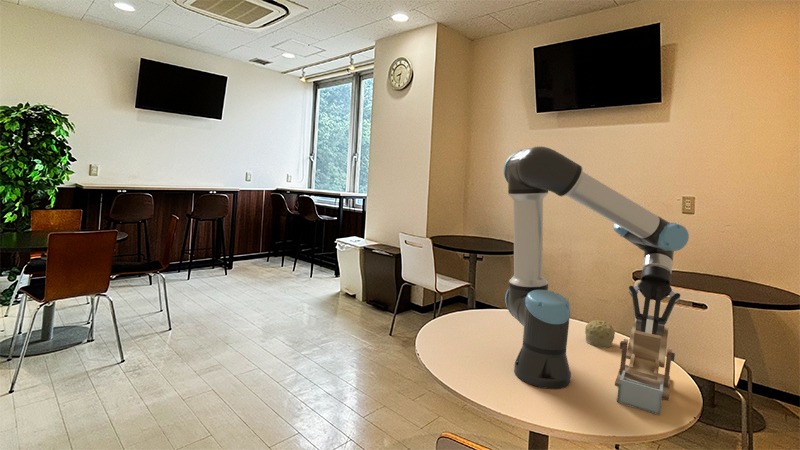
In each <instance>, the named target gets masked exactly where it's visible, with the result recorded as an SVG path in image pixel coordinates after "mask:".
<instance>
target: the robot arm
mask: <svg viewBox="0 0 800 450" xmlns="http://www.w3.org/2000/svg"><path fill="white" fill-rule="evenodd" d="M503 176H504V178H505V181H506V183H507V188H508V189H507V190H508V191H507V193H508V194H507V195H508V196H509V197H510V198H512V200H513V276H512V277H511V278H510V279H509V280H508V284H509V285H508V288H507V290H506V292H505V296H504V297H505V298H504V302H505V306H506V308H507V310H508V312H509V314H510V315H511V316H512V317H513V318H514V319H516V321H518V323H520V324H521V325H522V326H523V334H522V335H523V336H522V346H521V348H520V350H519V353H518V355H517V357H516V359H515V362H514V367H513V372H514V374H515V376H516V377H517V378H518V379H519V380H521V381H523V382H524V383H527V384H529V385H532V386H535V387H538V388H543V389H551V390H552V389H564V388H566V387H569V385H570V384H571V381H572V380H571V378H572V372H571V370H570V364H569V360H568V356H567V347H568V337H569V336H568V335H569V327H570V318H571V304H570V301H569V299H568V298H566V297H565V296H564V295H562V294H560V293H558V292H554V291H552V290H549V281H548V279H546V278H545V277H544V269H543V268H544V267H543V266H544V259H543V257H544V252H543V250H544V247H543V246H544V243H543V242H544V223H543V222H544V214H543V213H544V204H543V203H544V199H545V197H546V196H547V195H548V194H549V192H551V193H554V194H556V195H557V196H559V197H565V196H567V197H568V198H570V199H572V200H574V201H576V202H577V203H579V204H580V205H582V206H584V207H586V208H587V209H589V210H591V211H593V212H594V213H596V214H597V215H599V216H602V217H603V218H604V219H606V220H608V221H610V222H612V223H613V225H612V227H613V231H614V232H615V233H616V234H617V235H619V236H620V237H622V238H624V239H625V240H626V241H628V242H629V243H631V244H632V245H634V246H635V247H637V248H638V249H640V250H642V251H643V252H644V254H643V261H642V262H643V263H642V268H641V269H642V270H641V275H640V281H639V282H638V283H637V285H635V286H633V285H630V286H628V293H629V294H630V296H631V299H632V305H633V310H634V311H633V312H634V317H635V320H637V319H639V320H641V321H642V323H641V332H645V333H650V334H655V335H656V334H657V329H658V325H659V324H665V325H666V324H667V321H668V320H669V318H670V316H671V314H672V311H673V309H674V306H675V305H676V304H677V303H678V302H680V299H681V294H680V293H679V292H678V293H677V292H674V291H673V289H672V287H671V281H672V271H673V265H674V264H673V263H674V262H673V261H674V255H675V252H677V251H680V250H683V248H685V247H686V245H687V244H688V242H689V238H690V235H689V231H688V229H687V228H686V227H685V226H684V225H682V224H679V223H676V222H669V221H668V220H665V219H664V218H663V217H660V216H658V214H655V213H653V212H652V211H650V210H649V209H647V208H645V207H643V206H641V205H640V204H638V203H636V202H635V201H633V200H632V199H630V198H628V197H626V196H624V195H623V194H621V193H619V192H618V191H616V190H614V189H613V188H611V187H610V186H608V185H607V184H604V183H602V182H601V181H600V180H598V179H596V178H594V177H592V176H591V175H589V174H588V173H586V172H584V171H583V166H581V165H580V164H578V163H577V162H575V161H573V160H571V158H569V157H567V156H566V155H564V154H562V153H560V152H558V151H556V150H555V149H552V148H550V147H545V146H534V147H530V148H525V149H520V150H517V151H516V152H513V154H511V155H510V156H509V157H508V158H507V160H506V161H505V163H504V166H503ZM639 292H640V293H641V295H642V296H643V297H644V304H643V309H642V310H643V311H642V313H641V310H640V303H639V297H638V294H639ZM668 296H669V300H668V302H667V305H666V307H665V309H664V311H663V313H662V316H661V317H660V310H661V302H662V301H663V300H664V299H666V298H668ZM651 300H652V301H655V303H654V311H653V316H654V318H653V320H650V319H648V315H649V312H650V311H649V310H650V303H651ZM659 317H660V318H659Z"/></svg>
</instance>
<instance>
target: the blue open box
mask: <svg viewBox="0 0 800 450" xmlns="http://www.w3.org/2000/svg"><path fill="white" fill-rule="evenodd" d="M625 372H626V371H624V370H623V372H622V375H621V378H620V379H619V386H617V387H618V388H617V398H616V402H617V403H618V404H622V405H625V406H628V407H632V408H635V409H638V410H642V411H645V412H648V413H652V414H655V415H658V416H660V415H661V410H662V403H663V402H662V401H663V399H662V394H663V381H662V380H661V382H660V388H659V387H656V386H652V385H649V384H645V383H641V382H638V381H634V380H630V379H627V378H625Z"/></svg>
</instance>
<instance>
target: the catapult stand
mask: <svg viewBox="0 0 800 450" xmlns="http://www.w3.org/2000/svg"><path fill="white" fill-rule="evenodd" d="M628 344H629V339H626V338H624V339H623V340H620V342H619V350H620V349H621V357H620V358H621V359H620V365H619V369H618V372H617V376H616V378H615V381H614V386H616V387H619V379H620V378H621V375H622V372H623V370H624V371H626V372H625V378H627V379H630V380H634V381H638V382H641V383H645V384H649V385H652V386H656V387H659V388H660V382H661V380H662V381H663V394H662V400H664V401H669V400H670V386H671V385H670V384H671V383H670V382H671V376H670V371H671V362H675V356H676V353H675V352H673V349H672V348H667V349H666V357H665V366H664V374H662V373H660V372H658V379H657V380H654V379H650V378H647V377H643V376H639V375H635V374H632V373H628V369H629V364H628V365H627V364H626V362H627V361H626V360H627V359H626V353H627V349H628Z"/></svg>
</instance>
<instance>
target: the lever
mask: <svg viewBox="0 0 800 450" xmlns="http://www.w3.org/2000/svg"><path fill="white" fill-rule="evenodd" d="M653 318H654V315H650V314H648V319H650V320H653ZM659 318H660V316H659ZM641 323H642V321H641V320H639V319H635V320H633V322H632V327H631V331H630V335H629V339H628V345H627V353H626V360H629V364H628V366H629V369H628V373H632V374H635V375H639V376H643V377H647V378H650V379H654V380H657V379H658V373H659V369H660V368H662V369H665V367H666V358H667V346H668V336H669V335H668V334H669V327H665V326H666V324H659V325H658V329H657V334H656V335H655V334H650V333H645V332H641Z"/></svg>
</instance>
